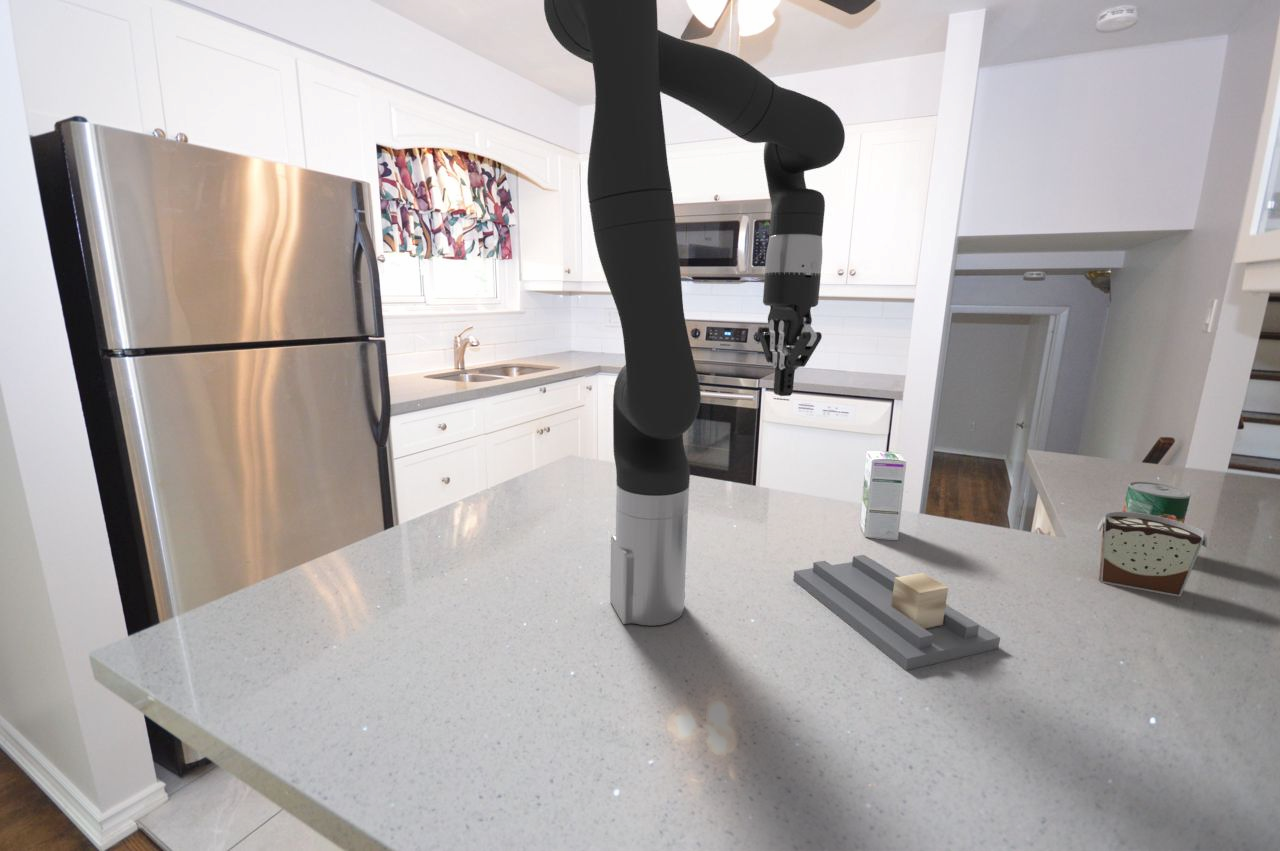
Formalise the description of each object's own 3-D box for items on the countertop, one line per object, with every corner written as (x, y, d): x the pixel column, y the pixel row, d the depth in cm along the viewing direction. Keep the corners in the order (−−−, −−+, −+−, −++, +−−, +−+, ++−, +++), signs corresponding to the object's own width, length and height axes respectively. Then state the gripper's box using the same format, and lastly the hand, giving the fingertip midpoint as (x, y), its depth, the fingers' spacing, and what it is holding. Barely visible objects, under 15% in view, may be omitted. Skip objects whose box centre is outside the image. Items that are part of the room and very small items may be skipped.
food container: (1176, 581, 87) (1191, 519, 85) (1194, 599, 82) (1210, 533, 80) (1077, 564, 92) (1089, 505, 90) (1088, 580, 87) (1101, 518, 85)
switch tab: (890, 613, 73) (895, 577, 72) (917, 608, 74) (922, 572, 73) (914, 630, 69) (919, 592, 68) (942, 624, 71) (948, 587, 70)
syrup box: (898, 541, 100) (909, 460, 96) (863, 537, 101) (872, 458, 98) (891, 528, 105) (901, 452, 102) (857, 525, 106) (866, 449, 103)
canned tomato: (1172, 564, 93) (1187, 500, 91) (1111, 548, 99) (1124, 487, 96) (1179, 551, 98) (1194, 490, 96) (1120, 536, 104) (1133, 478, 101)
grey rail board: (793, 580, 85) (795, 561, 84) (870, 567, 89) (872, 550, 89) (905, 670, 64) (909, 646, 64) (998, 648, 69) (1002, 626, 68)
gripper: (745, 271, 84) (737, 388, 88) (797, 268, 72) (785, 404, 76) (789, 273, 87) (780, 387, 90) (846, 270, 74) (833, 402, 78)
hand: (782, 394), depth 83 cm, fingers closed
